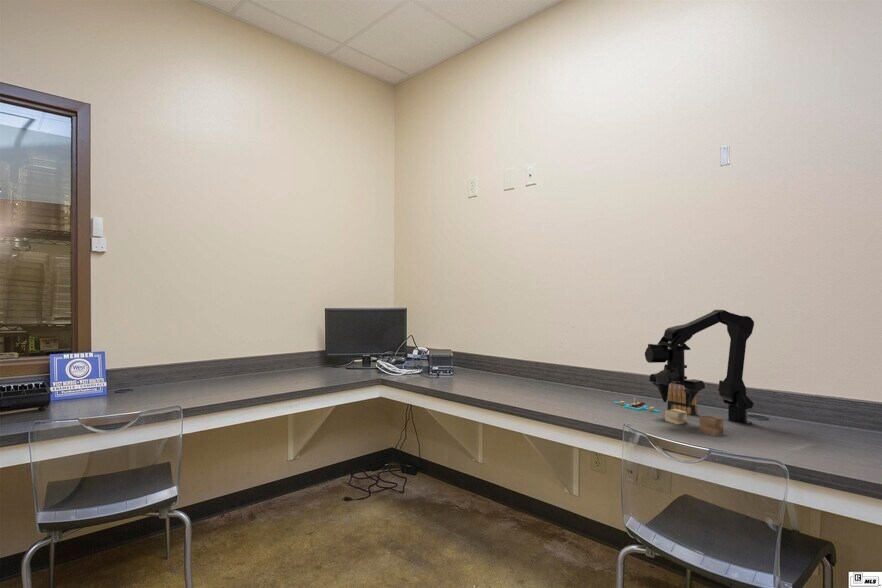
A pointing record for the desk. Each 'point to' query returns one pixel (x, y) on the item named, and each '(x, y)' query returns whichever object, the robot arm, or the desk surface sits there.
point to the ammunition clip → (680, 401)
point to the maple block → (675, 416)
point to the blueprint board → (712, 435)
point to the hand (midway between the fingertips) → (676, 404)
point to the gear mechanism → (637, 406)
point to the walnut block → (711, 425)
